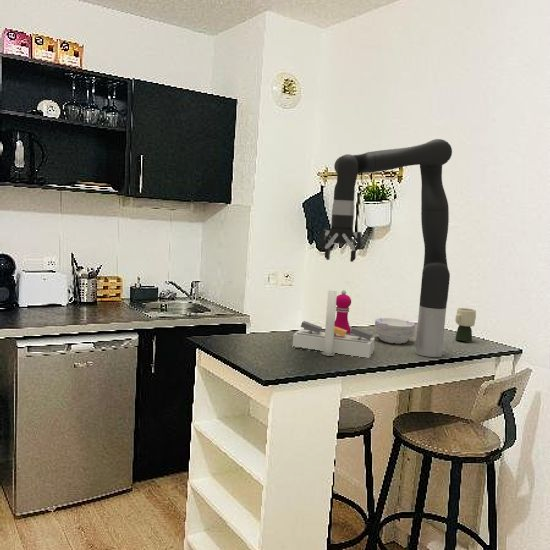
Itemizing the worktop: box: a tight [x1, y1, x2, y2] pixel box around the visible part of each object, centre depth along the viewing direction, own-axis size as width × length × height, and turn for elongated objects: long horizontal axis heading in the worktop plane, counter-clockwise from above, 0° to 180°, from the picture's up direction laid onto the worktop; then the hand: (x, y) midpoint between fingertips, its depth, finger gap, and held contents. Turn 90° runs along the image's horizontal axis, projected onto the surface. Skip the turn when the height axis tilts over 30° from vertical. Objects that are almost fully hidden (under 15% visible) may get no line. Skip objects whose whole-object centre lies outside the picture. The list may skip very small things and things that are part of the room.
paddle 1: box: [300, 320, 323, 333], centre depth 200 cm, size 7×3×2 cm, turn 72°
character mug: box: [455, 307, 477, 342], centre depth 224 cm, size 11×7×13 cm, turn 119°
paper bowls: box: [374, 317, 416, 345], centre depth 217 cm, size 15×15×8 cm
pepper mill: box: [334, 289, 352, 334], centre depth 208 cm, size 7×7×20 cm
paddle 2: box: [350, 326, 373, 340], centre depth 194 cm, size 7×3×2 cm, turn 72°
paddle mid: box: [334, 326, 347, 337], centre depth 197 cm, size 7×3×2 cm, turn 72°
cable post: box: [321, 290, 338, 357], centre depth 189 cm, size 4×4×22 cm
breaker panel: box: [292, 328, 376, 359], centre depth 198 cm, size 27×11×6 cm, turn 72°
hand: (339, 260), depth 194 cm, fingers open, 8 cm apart
